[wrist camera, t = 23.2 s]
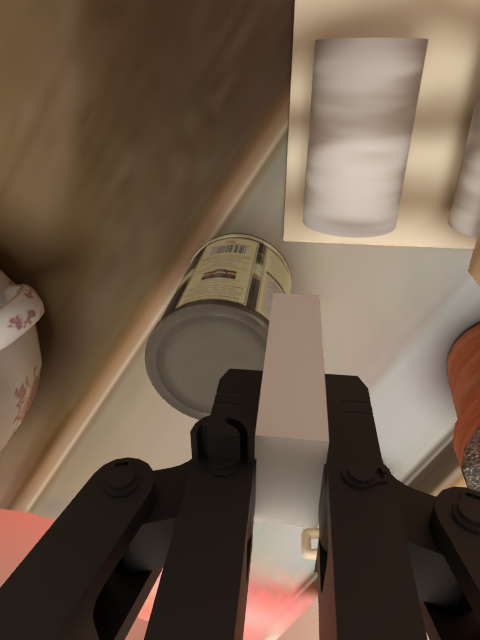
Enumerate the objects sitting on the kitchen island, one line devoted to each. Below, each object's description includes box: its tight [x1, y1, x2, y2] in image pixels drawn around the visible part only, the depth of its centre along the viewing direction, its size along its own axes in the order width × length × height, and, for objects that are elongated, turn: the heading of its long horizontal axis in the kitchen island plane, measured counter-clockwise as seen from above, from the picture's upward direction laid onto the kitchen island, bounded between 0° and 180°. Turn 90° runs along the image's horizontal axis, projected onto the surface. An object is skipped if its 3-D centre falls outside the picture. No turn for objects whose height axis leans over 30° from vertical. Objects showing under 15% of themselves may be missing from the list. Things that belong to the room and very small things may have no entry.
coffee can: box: [145, 234, 292, 420], centre depth 38 cm, size 10×10×14 cm
